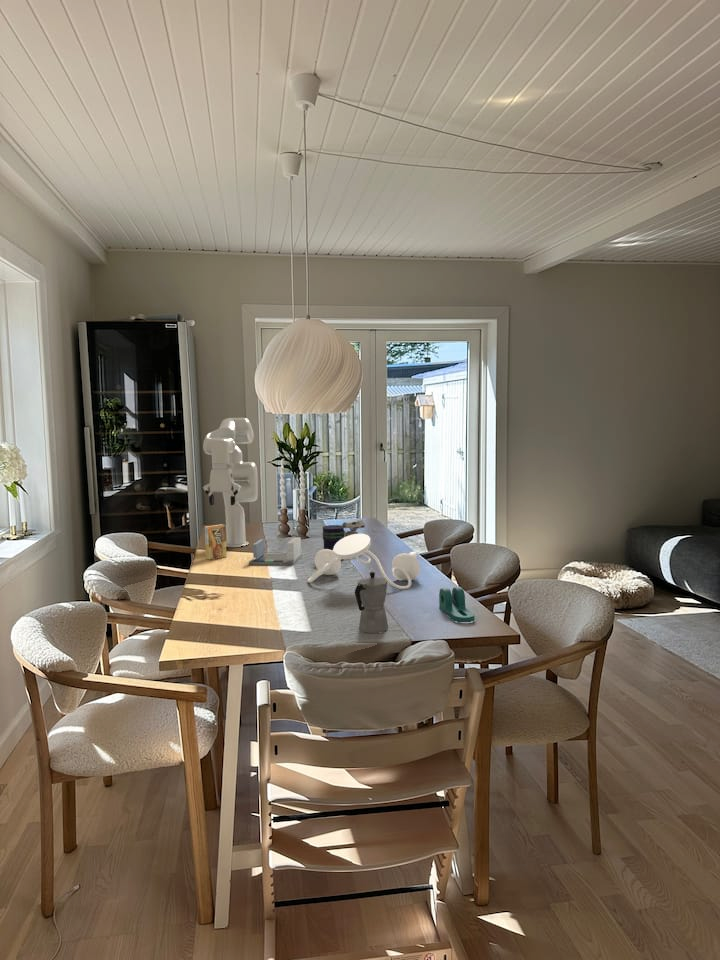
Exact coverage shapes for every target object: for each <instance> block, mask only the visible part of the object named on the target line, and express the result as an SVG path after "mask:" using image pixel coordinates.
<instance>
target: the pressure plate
mask: <svg viewBox="0 0 720 960" xmlns="http://www.w3.org/2000/svg"><path fill="white" fill-rule="evenodd" d="M252 552H253V556H252V557H253V558H252V559H253V560H255V559H258V558H260V557H261V556H262V555H263V554H264V553H265V539H263V538H262V539H259V540H257V541H256V542H254V543H253V544H252Z"/></svg>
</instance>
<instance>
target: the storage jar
mask: <svg viewBox="0 0 720 960" xmlns="http://www.w3.org/2000/svg"><path fill="white" fill-rule="evenodd" d="M344 530H345V528H344V526H342V524H341V525H340V524H333V525H330V524H329V525H325V526H322V540H323V548H322V549H329V550H333V548H334V546H335V544H336V543H337V542H338V541H339V540H341V539H342V538H344ZM342 560H343V561H345V560H344V559H341V562H342Z"/></svg>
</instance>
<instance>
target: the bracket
mask: <svg viewBox="0 0 720 960" xmlns="http://www.w3.org/2000/svg"><path fill="white" fill-rule="evenodd" d="M438 596H439V597H438V601H439V602H438V603H439V606H438V607H439V608H438V609H439V610H441V611H442V612H443V613H444V614H445V615H446V616H447V615H448V616H449V617H450V619H451V620H452V619H453V620H454V621H457V622H471V621H474V620H475V617H476V616H475V613H474V612H473V611H471V609H469V608H468V607H467V606H466V595H465V590H464V589H463V587H461V586H458V587H453V588H452V590H451V589H450V588H449V587H445V588H440V589H439V594H438ZM448 616H447V617H448ZM449 617H448V618H449ZM453 620H452V621H453ZM454 621H453V622H454ZM474 622H475V621H474Z"/></svg>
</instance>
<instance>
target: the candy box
mask: <svg viewBox="0 0 720 960" xmlns="http://www.w3.org/2000/svg"><path fill="white" fill-rule="evenodd" d="M226 542H227V536H226V524H221V523H220V524H215V525H208V526H206V525H205V526H204V544H205V545H204V546H205V547H204V548H205V559H206V560H208V559H209V561H211V560H210V559H212V560H217V558H218V559H223V557H224V558H227V547H226Z"/></svg>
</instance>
